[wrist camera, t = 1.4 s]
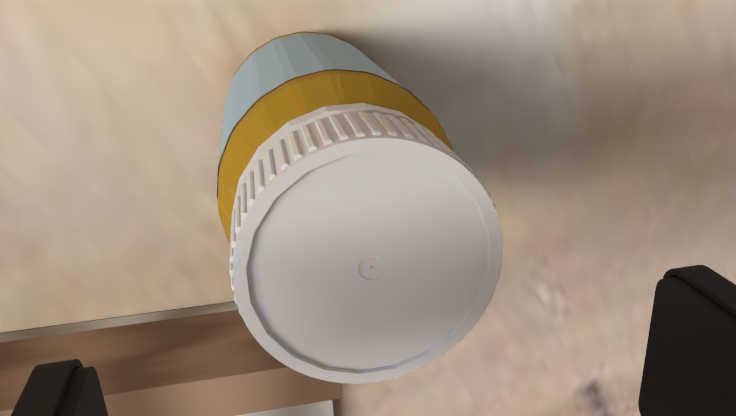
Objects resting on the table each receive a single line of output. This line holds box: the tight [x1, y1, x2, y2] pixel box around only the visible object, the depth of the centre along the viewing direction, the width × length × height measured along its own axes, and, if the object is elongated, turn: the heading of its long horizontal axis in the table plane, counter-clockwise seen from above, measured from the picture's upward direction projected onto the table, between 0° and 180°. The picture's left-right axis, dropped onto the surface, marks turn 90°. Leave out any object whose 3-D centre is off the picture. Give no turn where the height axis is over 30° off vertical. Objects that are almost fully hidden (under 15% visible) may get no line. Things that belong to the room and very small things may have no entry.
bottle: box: [217, 32, 503, 384], centre depth 20 cm, size 7×7×15 cm
